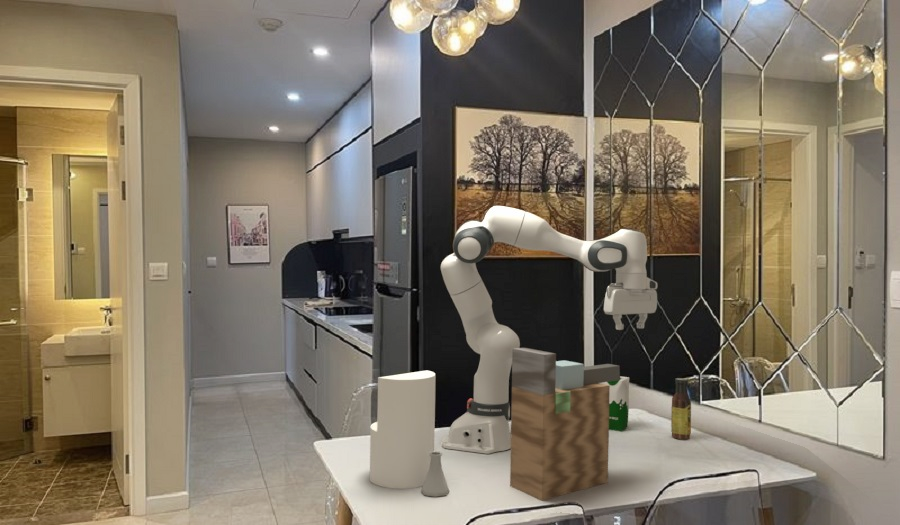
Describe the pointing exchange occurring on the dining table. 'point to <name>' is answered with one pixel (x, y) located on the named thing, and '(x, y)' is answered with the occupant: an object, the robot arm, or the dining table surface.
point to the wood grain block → (555, 429)
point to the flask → (435, 477)
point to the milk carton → (618, 403)
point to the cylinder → (403, 430)
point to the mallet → (583, 374)
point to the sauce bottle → (681, 411)
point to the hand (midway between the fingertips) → (630, 329)
